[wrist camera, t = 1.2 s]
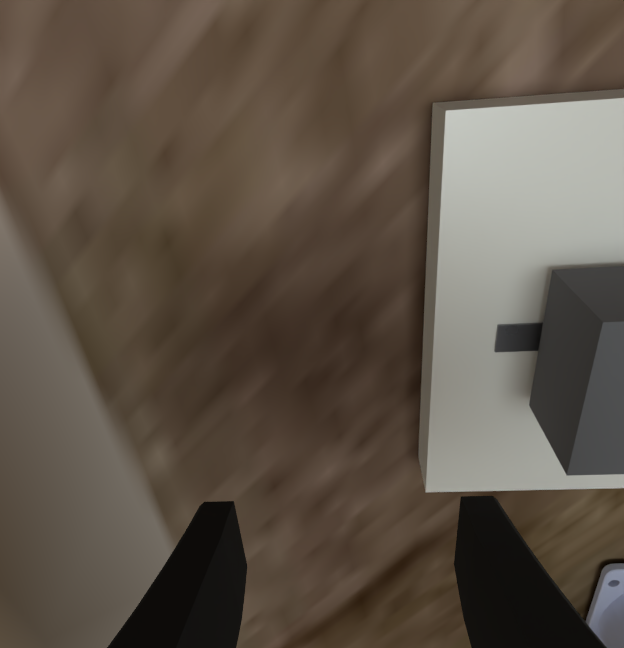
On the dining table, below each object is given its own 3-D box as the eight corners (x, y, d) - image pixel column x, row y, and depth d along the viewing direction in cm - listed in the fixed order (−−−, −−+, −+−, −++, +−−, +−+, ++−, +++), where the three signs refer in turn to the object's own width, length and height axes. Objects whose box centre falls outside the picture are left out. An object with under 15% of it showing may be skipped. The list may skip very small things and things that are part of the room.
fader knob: (635, 401, 17) (695, 472, 14) (528, 405, 17) (567, 475, 14) (677, 263, 15) (758, 315, 12) (552, 269, 15) (603, 322, 12)
